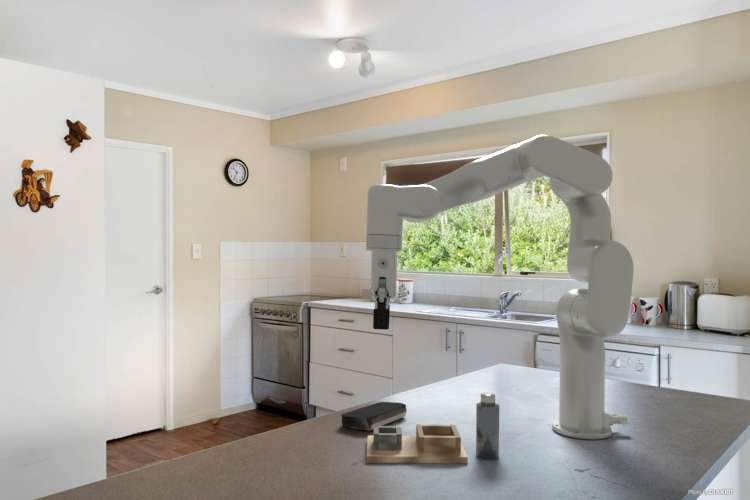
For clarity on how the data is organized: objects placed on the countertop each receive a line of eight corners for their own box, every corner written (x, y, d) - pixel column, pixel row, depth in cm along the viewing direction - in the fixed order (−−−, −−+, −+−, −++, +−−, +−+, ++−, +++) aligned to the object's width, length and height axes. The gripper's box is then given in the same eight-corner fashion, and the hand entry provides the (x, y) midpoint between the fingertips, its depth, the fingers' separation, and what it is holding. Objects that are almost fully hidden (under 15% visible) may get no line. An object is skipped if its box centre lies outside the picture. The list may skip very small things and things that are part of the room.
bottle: (496, 452, 114) (496, 391, 114) (501, 460, 110) (501, 397, 110) (474, 452, 114) (474, 391, 114) (478, 460, 110) (478, 397, 110)
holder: (458, 441, 120) (458, 421, 120) (467, 463, 108) (467, 441, 108) (367, 441, 120) (367, 421, 120) (366, 462, 108) (366, 440, 108)
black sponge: (366, 436, 124) (367, 419, 124) (337, 428, 130) (337, 412, 130) (409, 419, 137) (410, 403, 137) (381, 412, 142) (381, 397, 142)
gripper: (402, 244, 111) (399, 332, 111) (401, 245, 129) (398, 321, 129) (364, 243, 112) (361, 331, 112) (367, 244, 129) (365, 320, 129)
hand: (381, 325), depth 120 cm, fingers open, 9 cm apart
